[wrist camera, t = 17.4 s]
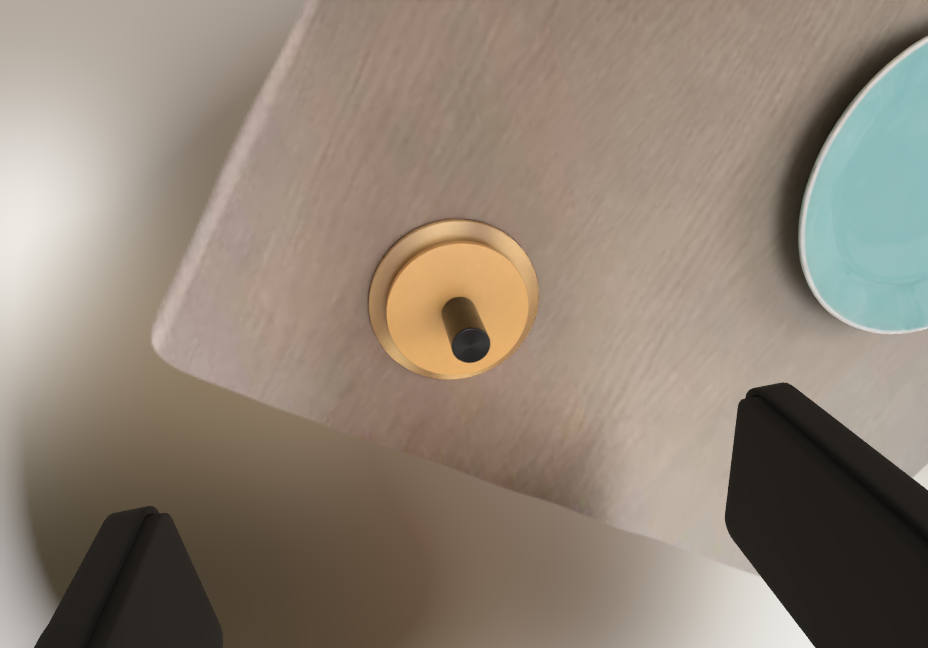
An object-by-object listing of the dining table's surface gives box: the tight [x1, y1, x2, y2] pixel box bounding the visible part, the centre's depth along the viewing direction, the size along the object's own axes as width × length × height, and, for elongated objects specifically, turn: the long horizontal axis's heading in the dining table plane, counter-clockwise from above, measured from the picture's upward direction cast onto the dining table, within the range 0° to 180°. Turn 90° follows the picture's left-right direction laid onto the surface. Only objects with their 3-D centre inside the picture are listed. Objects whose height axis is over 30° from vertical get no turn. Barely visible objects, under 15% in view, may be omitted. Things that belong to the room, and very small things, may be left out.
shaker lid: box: [386, 241, 529, 375], centre depth 38 cm, size 10×10×6 cm
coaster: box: [369, 219, 539, 379], centre depth 41 cm, size 12×12×1 cm
